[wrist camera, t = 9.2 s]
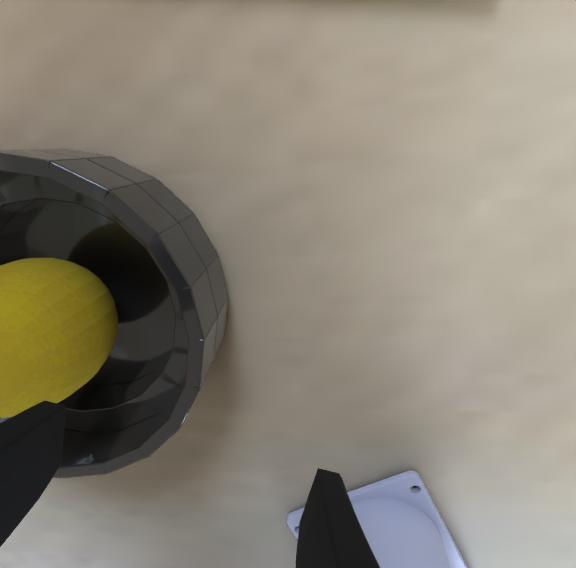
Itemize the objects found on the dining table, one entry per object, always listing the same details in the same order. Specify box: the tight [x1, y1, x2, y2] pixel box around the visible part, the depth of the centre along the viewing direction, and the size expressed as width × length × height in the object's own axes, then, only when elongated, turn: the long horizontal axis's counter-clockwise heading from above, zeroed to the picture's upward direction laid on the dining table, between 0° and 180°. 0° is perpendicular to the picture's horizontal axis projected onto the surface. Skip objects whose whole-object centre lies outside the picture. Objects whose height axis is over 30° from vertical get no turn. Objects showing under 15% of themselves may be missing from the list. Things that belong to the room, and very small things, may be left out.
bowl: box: [0, 149, 228, 478], centre depth 18 cm, size 13×13×5 cm
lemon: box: [0, 258, 118, 418], centre depth 16 cm, size 6×6×8 cm
